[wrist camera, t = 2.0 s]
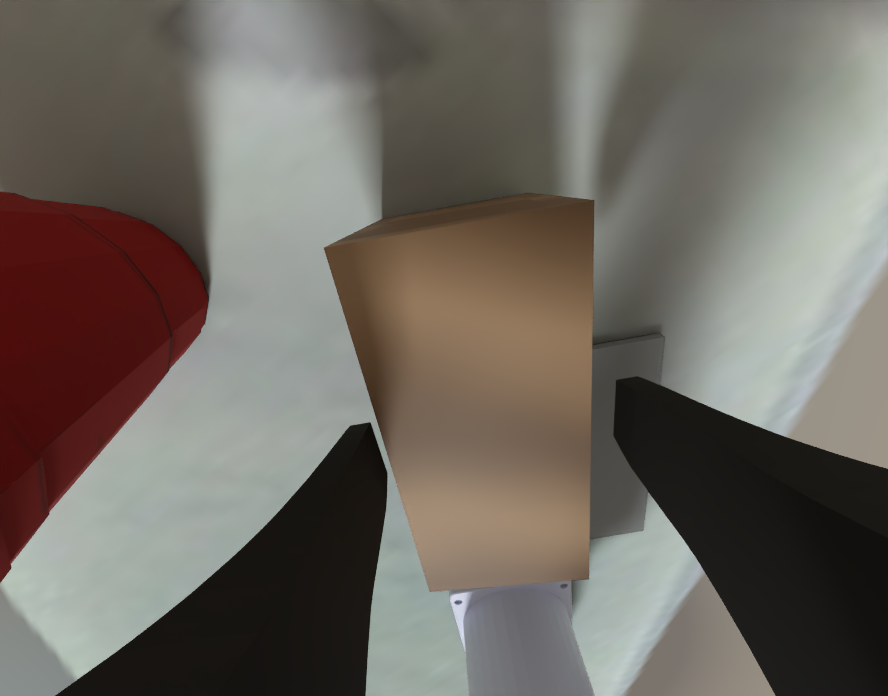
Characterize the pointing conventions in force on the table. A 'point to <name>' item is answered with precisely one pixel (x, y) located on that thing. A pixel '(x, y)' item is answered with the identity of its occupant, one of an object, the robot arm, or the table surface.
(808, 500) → the robot arm
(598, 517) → the felt mat
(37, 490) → the plastic cup
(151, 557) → the table surface
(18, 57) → the table surface
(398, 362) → the wooden block
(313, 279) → the table surface
